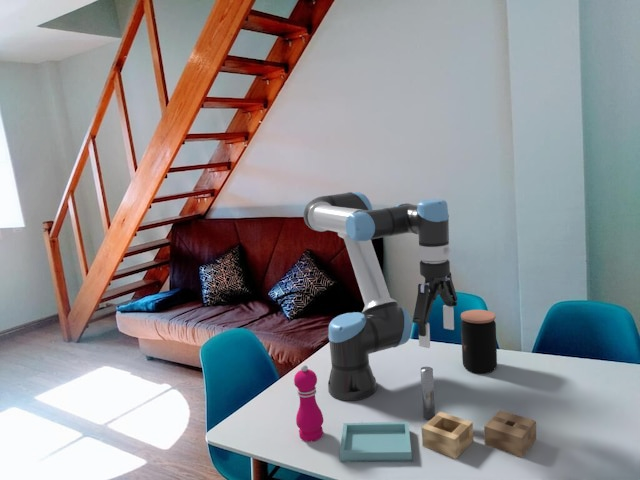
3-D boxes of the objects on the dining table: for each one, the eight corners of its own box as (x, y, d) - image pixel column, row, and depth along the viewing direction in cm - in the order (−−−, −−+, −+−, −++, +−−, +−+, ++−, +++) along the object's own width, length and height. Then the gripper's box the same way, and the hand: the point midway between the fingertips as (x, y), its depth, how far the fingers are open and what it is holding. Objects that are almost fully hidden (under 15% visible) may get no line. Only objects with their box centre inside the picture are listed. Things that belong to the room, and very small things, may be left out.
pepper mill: (315, 445, 127) (307, 373, 123) (292, 439, 131) (284, 368, 127) (329, 431, 133) (323, 361, 129) (307, 425, 137) (300, 357, 133)
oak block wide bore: (422, 445, 123) (421, 427, 122) (440, 429, 129) (440, 411, 128) (455, 458, 116) (455, 439, 116) (473, 440, 123) (472, 422, 122)
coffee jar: (469, 358, 169) (467, 308, 166) (501, 363, 163) (499, 311, 159) (458, 371, 160) (455, 318, 157) (491, 377, 154) (489, 322, 151)
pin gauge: (421, 417, 135) (418, 370, 133) (427, 412, 137) (424, 365, 135) (431, 421, 133) (428, 372, 131) (437, 416, 135) (435, 368, 133)
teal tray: (340, 462, 119) (339, 452, 119) (344, 431, 132) (343, 423, 132) (411, 461, 117) (411, 452, 117) (408, 430, 130) (408, 421, 129)
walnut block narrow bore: (484, 444, 121) (484, 426, 120) (500, 427, 127) (499, 409, 126) (522, 457, 115) (521, 438, 114) (536, 439, 121) (535, 420, 120)
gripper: (423, 273, 115) (427, 358, 120) (468, 250, 134) (470, 324, 138) (396, 270, 120) (400, 351, 125) (443, 248, 139) (445, 319, 143)
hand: (437, 337), depth 131 cm, fingers open, 13 cm apart
